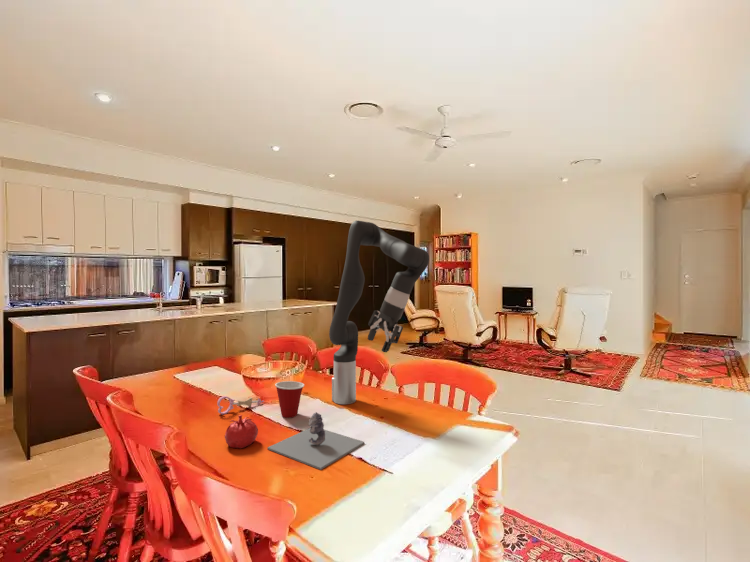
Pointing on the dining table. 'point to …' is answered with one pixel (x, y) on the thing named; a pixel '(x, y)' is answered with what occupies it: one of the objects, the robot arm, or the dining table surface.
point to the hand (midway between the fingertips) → (376, 345)
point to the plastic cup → (289, 397)
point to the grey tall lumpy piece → (317, 429)
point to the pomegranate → (241, 433)
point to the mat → (316, 448)
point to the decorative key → (246, 402)
